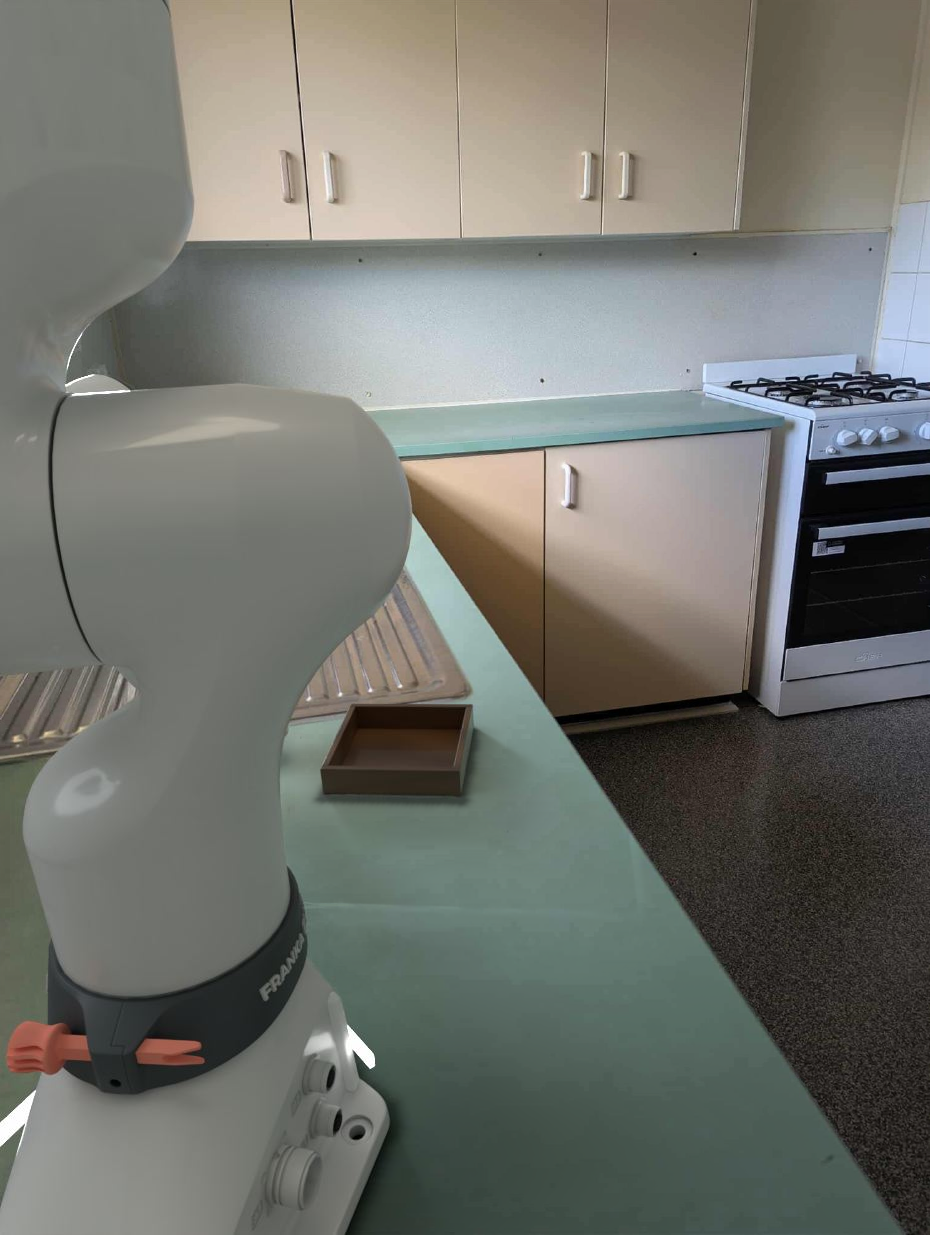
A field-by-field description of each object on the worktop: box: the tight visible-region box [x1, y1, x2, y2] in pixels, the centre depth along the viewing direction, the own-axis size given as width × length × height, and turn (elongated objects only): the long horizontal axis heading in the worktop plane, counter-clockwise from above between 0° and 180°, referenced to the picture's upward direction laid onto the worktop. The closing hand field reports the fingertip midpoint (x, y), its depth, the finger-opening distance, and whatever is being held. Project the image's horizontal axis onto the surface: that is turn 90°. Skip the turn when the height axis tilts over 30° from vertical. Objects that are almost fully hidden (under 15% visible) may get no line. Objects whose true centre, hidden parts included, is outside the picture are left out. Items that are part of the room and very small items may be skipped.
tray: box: [319, 703, 475, 797], centre depth 81 cm, size 12×12×3 cm
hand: (257, 674), depth 79 cm, fingers closed on spice jar, 5 cm apart
